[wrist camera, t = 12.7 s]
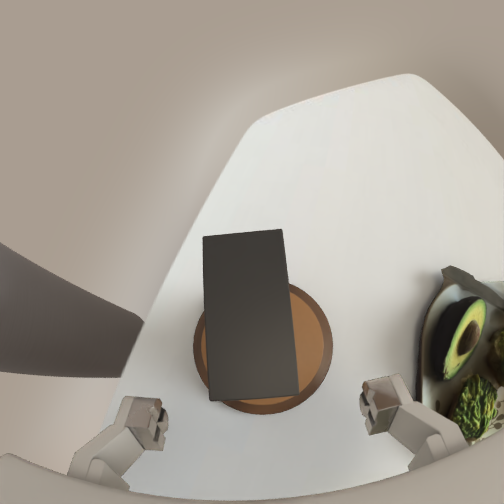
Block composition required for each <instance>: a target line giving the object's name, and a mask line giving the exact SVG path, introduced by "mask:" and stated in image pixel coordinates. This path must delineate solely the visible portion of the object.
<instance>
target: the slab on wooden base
mask: <svg viewBox="0 0 504 504" xmlns="http://www.w3.org/2000/svg"><path fill="white" fill-rule="evenodd" d="M203 287H204V316H205V327H204V330H203V334H202V341H201V351H202V358H203V362H204V365H205V367H206V370H207V373H208V388H209V400H210V401H234V400H239V401H241V402H244V403H248V404H254V405H270V404H276V403H280V402H283V401H285V400H288V399H290V398H292V397H294V396H298V395H299V394H300V392H301V391H302V390H303V389H304V388H305V387H306V386H307V385H308V384H309V383H310V382H311V381H312V379H313V378H314V376H315V375H316V373H317V371H318V369H319V366H320V364H321V360H322V356H323V348H324V343H323V334H322V330H321V327H320V323H319V321H318V319H317V317H316V315H315V314H314V312H313V311H312V309H311V308H310V307H309V306H308V305H307V304H306V303H305V302H304V301H303V300H302V299H301V298H299V297H298V296H296V295H295V294H293V293H291V292H290V290H289V281H288V272H287V264H286V256H285V247H284V239H283V231H282V229H276V230H265V231H254V232H243V233H233V234H223V235H212V236H204V237H203Z"/></svg>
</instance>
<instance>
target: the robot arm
mask: <svg viewBox="0 0 504 504" xmlns="http://www.w3.org/2000/svg"><path fill="white" fill-rule="evenodd" d="M362 388H363V392H362V393H361V394H360V399H359V401H360V410H361V413H362V415H363V416H365V417H366V421H365V425H366V428H367V431H368V434H369V435H374V434H378V433H382V432H386V431H388V433H390V434H391V435H392V436H393V437H394V438H396V439H397V440H398V441H399V442H400V443H402V444H403V445H404V446H405V447H406V448H408V449H409V450H410V451H411V452H413V453H414V454H415V457H414V458H413V460H412V461H411V462H410V464H409V465H408V469H409V472H406V473H403V474H400V475H396V476H393V477H390V478H386V479H383V480H380V481H376V482H372V483H368V484H364V485H360V486H356V487H352V488H347V489H342V490H337V491H332V492H326V493H320V494H314V495H307V496H299V497H291V498H281V499H268V500H247V501H215V500H194V499H181V498H171V497H163V496H155V495H148V494H142V493H136V492H131V491H129V487H130V486H129V485H128V483H126V482H125V481H124V480H123V479H122V478H121V476H122V475H123V474H124V473H125V472H126V471H127V470H128V469H129V467H130V466H131V465H132V464H133V463H134V462H135V461H136V460H137V459H138V458H139V457H140V455H141V454H142V453H143V452H144V451H145V450H155V451H163V449H164V444H165V439H166V438H165V437H164V435H163V434H164V433H165V432H166V431H167V430H168V415H167V412H166V410H165V409H163V408H162V407H161V406H162V402H161V400H160V399H158V398H144V397H132V396H125V397H124V398H123V400H122V402H121V405H120V408H119V411H118V413H117V416H116V419H115V422H114V425H110V426H108V427H107V428H106V429H105V430H103V431H102V432H101V433H100V434H98V435H97V436H96V437H95V438H93V439H92V440H91V441H89V442H88V443H87V444H86V445H85V446H83V447H82V448H81V449H79V450H78V451H77V452H75V455H74V457H73V460H72V462H71V465H70V468H69V471H68V473H67V475H64V474H61V473H58V472H55V471H53V470H50V469H47V468H44V467H42V466H39V465H37V464H34V463H32V462H29V461H27V460H24V459H22V458H20V457H18V456H16V455H13V454H9V453H8V454H5V455H3V456H1V457H0V504H504V428H502V429H501V430H499V431H497V432H496V433H494V434H492V435H490V436H488V437H487V438H485V439H483V440H481V441H479V442H477V443H475V444H473V445H471V446H468V444H467V442H466V440H465V438H464V436H463V434H462V432H461V430H460V428H459V427H458V425H457V424H456V423H454V422H452V421H450V420H449V419H447V418H445V417H443V416H442V415H440V414H438V413H437V412H435V411H433V410H431V409H430V408H428V407H426V406H425V405H423V404H421V403H420V402H418V401H415V402H414V401H413V399H412V397H411V395H410V393H409V391H408V389H407V387H406V385H405V383H404V381H403V379H402V377H401V375H400V374H395V375H391V376H385V377H381V378H377V379H373V380H368V381H364V383H363V386H362Z"/></svg>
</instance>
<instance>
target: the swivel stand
mask: <svg viewBox="0 0 504 504" xmlns="http://www.w3.org/2000/svg"><path fill="white" fill-rule="evenodd" d="M289 290H290V292H291V293H293V294H295V295H296V296H298V297H299V298H301V299H302V300H303V301H304V302H305V303H306V304H307V305H308V306H309V307H310V308H311V309H312V311H313V312H314V314H315V315H316V317H317V319H318V321H319V323H320V327H321V330H322V334H323V343H324V348H323V356H322V360H321V364H320V366H319V369H318V371H317V373H316V375H315V376H314V378H313V379H312V381H311V382H310V383H309V384H308V385H307V386H306V387H305V388H304V389H303V390H302V391H301V392H300V394H299V395H298V396H294V397H292V398H290V399H288V400H285V401H283V402H280V403H276V404H270V405H254V404H248V403H244V402H241V401H239V400H234V401H222V402H223V403H224V404H226V405H228V406H230V407H232V408H234V409H236V410H239V411H242V412H245V413H250V414H259V415H265V414H275V413H280V412H283V411H286V410H289V409H291V408H293V407H296V406H298V405H299V404H301V403H302V402H304V401H305V400H307V399H308V398H309V397H310V396H311V395H312V394H313V393H314V392H315V391H316V390H317V389H318V387H319V386H320V385H321V383H322V382H323V380H324V378H325V376H326V374H327V372H328V370H329V367H330V363H331V359H332V352H333V341H332V333H331V329H330V326H329V323H328V320H327V318H326V316H325V314H324V312H323V311H322V309H321V308H320V306H319V305H318V304H317V303H316V302H315V301H314V299H313V298H312V297H311V296H309V295H308V294H307V293H306V292H304V291H303V290H301V289H299V288H298V287H296V286H294V285H292V284H289ZM204 327H205V316H204V312H203V313H202V315H201V317H200V319H199V321H198V324H197V327H196V330H195V335H194V342H193V353H194V359H195V364H196V367H197V371H198V373H199V375H200V377H201V379H202V381H203V382H204V384H205V385H206V387H207V388H208V373H207V370H206V367H205V365H204V362H203V358H202V351H201V341H202V334H203V330H204ZM208 389H209V388H208Z"/></svg>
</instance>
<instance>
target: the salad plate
mask: <svg viewBox="0 0 504 504" xmlns="http://www.w3.org/2000/svg"><path fill="white" fill-rule="evenodd" d="M441 271H442V274H443V277H444V282H443V285H442V288H441V290H440V291H439V293H438V294H437V295H436V297H435V298H434V300H433V301H432V303H431V305H430V306H429V308H428V310H427V313H426V315H425V319H424V323H423V326H422V331H421V337H420V344H419V355H418V370H417V382H416V401H418V402H420V403H421V404H423V405H425V406H426V407H428V408H430V409H431V410H433V411H435V412H437V413H438V414H440V415H442V416H443V417H445V418H447V419H449V420H450V421H452V422H454V423H456V424H457V425H458V427H459V428H460V430H461V432H462V434H463V436H464V438H465V440H466V442H467V444H468V446H471V445H473V444H475V443H477V442H479V441H481V440H483V439H485V438H487V437H488V436H490V435H492V434H494V433H496V432H497V431H499V430H501V429H502V428H504V281H495V282H489V281H488V282H479V281H477V280H475V279H474V277H473V276H472V275H470V274H469V273H467V272H465V271H463V270H461V269H459V268H456V267H454V266H448V267H446V268H444V269H441Z"/></svg>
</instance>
